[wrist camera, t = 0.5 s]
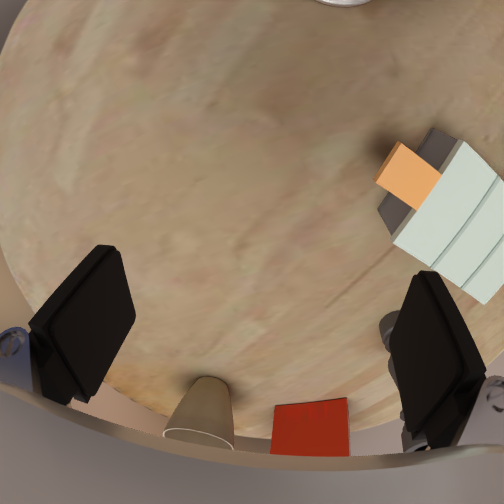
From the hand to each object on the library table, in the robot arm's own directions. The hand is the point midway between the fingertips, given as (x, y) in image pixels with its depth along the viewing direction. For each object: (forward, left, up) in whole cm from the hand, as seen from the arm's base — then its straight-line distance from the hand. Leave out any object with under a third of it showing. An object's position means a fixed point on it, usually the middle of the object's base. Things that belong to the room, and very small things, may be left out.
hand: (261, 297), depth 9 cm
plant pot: (+56, +12, -32) cm, 66 cm away
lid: (-4, +23, -24) cm, 33 cm away
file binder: (+52, +37, -32) cm, 71 cm away
